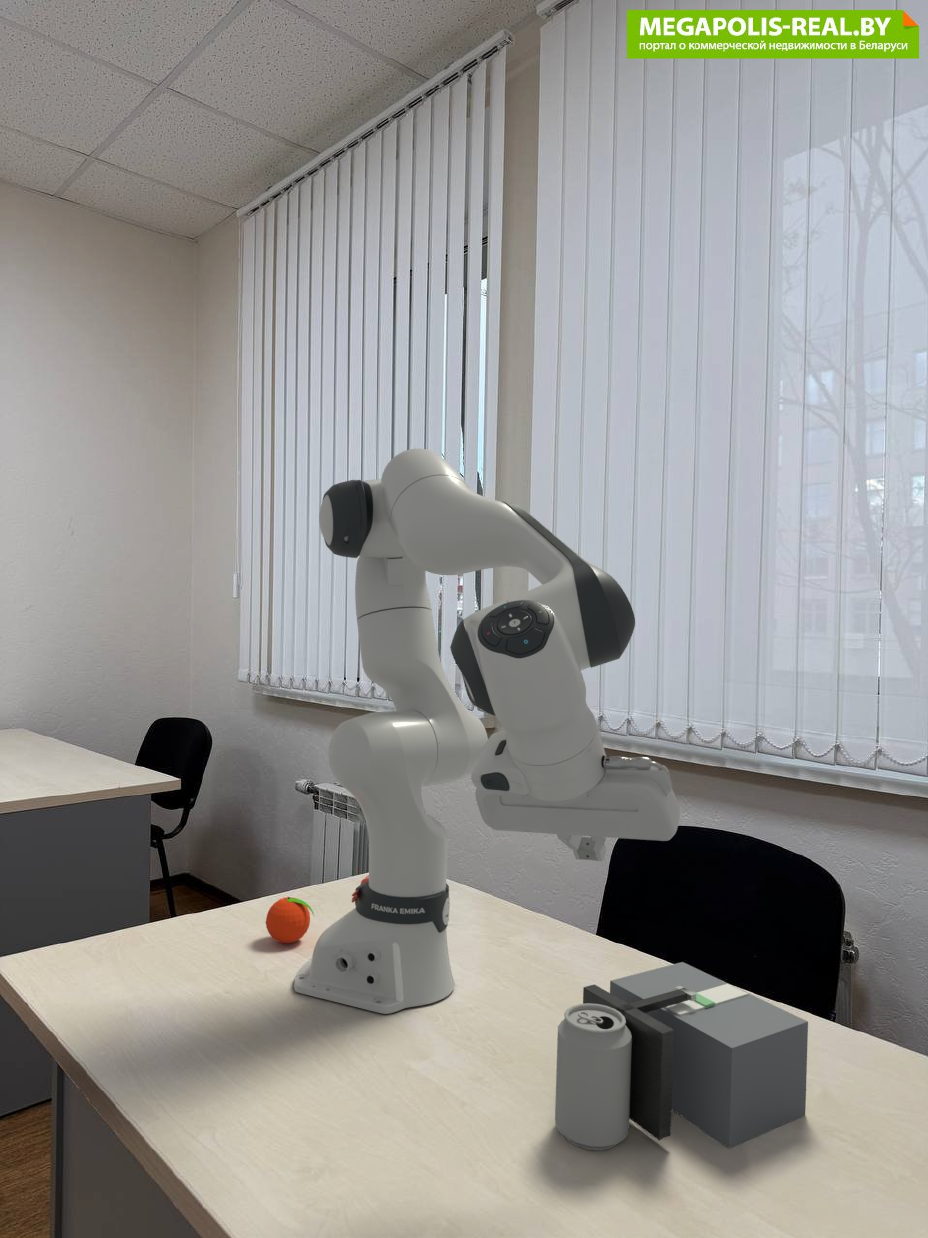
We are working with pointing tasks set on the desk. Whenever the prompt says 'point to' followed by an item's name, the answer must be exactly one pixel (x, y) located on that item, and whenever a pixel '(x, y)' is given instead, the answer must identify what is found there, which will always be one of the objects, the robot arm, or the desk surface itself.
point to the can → (593, 1076)
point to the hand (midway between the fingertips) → (591, 855)
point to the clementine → (288, 919)
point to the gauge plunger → (647, 1055)
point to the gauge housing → (727, 1053)
